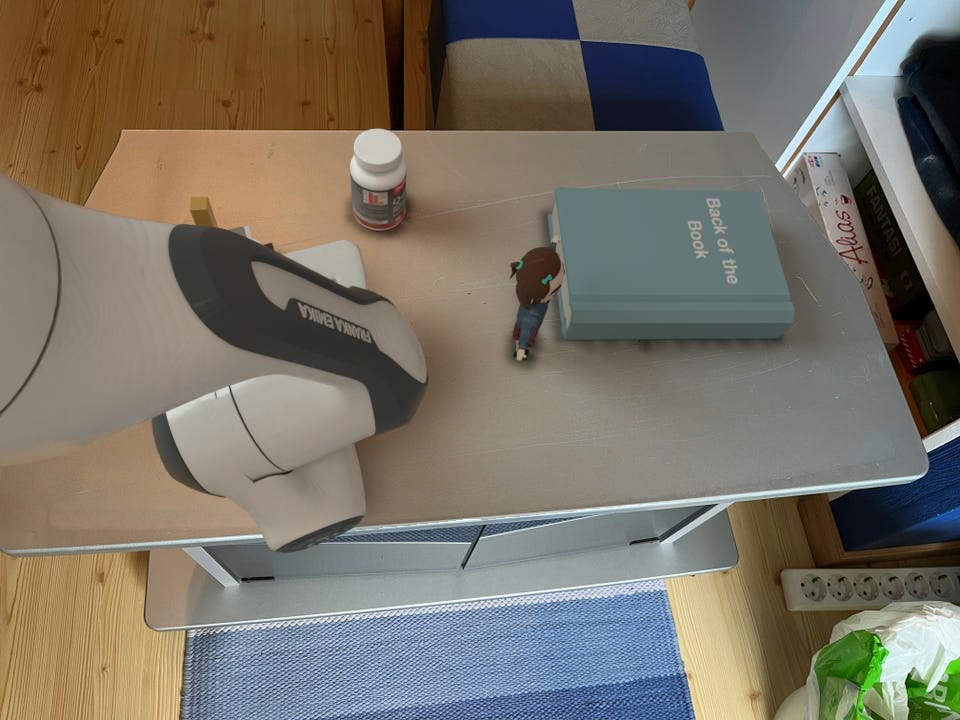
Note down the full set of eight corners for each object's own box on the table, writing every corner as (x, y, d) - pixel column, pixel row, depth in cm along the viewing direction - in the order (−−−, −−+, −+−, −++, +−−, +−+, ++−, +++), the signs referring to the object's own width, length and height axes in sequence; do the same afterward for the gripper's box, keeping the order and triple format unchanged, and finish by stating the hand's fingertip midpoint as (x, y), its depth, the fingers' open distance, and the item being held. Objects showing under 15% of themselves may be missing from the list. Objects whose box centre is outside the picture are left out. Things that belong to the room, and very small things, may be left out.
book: (740, 220, 86) (759, 191, 81) (774, 342, 78) (797, 318, 74) (547, 217, 83) (555, 187, 78) (563, 343, 75) (574, 318, 71)
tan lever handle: (226, 319, 69) (209, 275, 63) (197, 320, 69) (177, 276, 63) (230, 244, 73) (214, 196, 67) (202, 245, 73) (184, 196, 66)
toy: (520, 412, 71) (548, 336, 58) (473, 398, 72) (491, 318, 58) (553, 297, 78) (586, 204, 65) (510, 284, 78) (534, 189, 65)
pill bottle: (405, 234, 80) (406, 170, 71) (351, 231, 79) (346, 167, 71) (406, 192, 83) (407, 126, 74) (354, 189, 82) (349, 122, 73)
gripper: (390, 309, 62) (343, 184, 67) (133, 377, 57) (105, 237, 62) (390, 345, 67) (347, 227, 73) (156, 410, 62) (129, 279, 68)
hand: (234, 232), depth 68 cm, fingers closed
